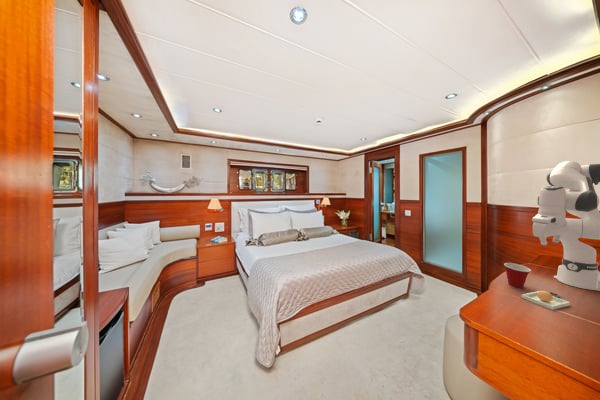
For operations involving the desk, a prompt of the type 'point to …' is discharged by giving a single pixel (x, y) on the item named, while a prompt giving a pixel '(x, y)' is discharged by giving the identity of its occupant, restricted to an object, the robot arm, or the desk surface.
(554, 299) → the tray
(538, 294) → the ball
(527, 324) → the desk surface
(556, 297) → the coaster
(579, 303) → the desk surface
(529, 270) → the plastic cup
